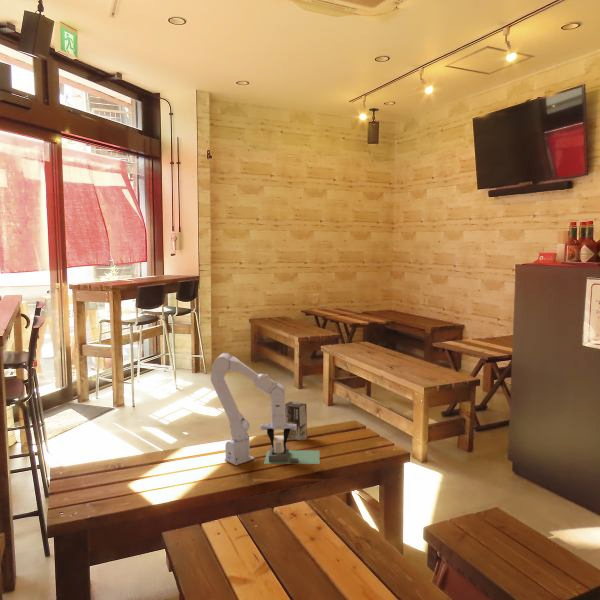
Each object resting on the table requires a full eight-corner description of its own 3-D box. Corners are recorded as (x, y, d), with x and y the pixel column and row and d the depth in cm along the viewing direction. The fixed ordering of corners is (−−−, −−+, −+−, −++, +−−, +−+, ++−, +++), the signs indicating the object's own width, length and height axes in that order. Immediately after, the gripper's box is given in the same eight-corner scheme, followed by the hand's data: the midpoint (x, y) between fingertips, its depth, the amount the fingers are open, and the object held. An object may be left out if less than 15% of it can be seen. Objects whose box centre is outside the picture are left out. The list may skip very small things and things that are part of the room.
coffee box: (307, 438, 226) (307, 403, 225) (300, 442, 221) (299, 407, 220) (291, 434, 231) (290, 401, 230) (283, 439, 226) (282, 404, 225)
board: (263, 466, 196) (263, 457, 195) (267, 452, 210) (267, 444, 209) (319, 466, 195) (319, 457, 195) (319, 452, 209) (319, 444, 209)
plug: (274, 447, 206) (274, 435, 205) (284, 447, 206) (284, 435, 205) (273, 453, 199) (273, 441, 198) (283, 453, 199) (283, 441, 198)
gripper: (259, 417, 197) (260, 450, 198) (295, 417, 197) (296, 450, 198) (261, 412, 204) (262, 444, 205) (296, 411, 204) (297, 444, 205)
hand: (279, 446), depth 202 cm, fingers closed on plug, 4 cm apart
